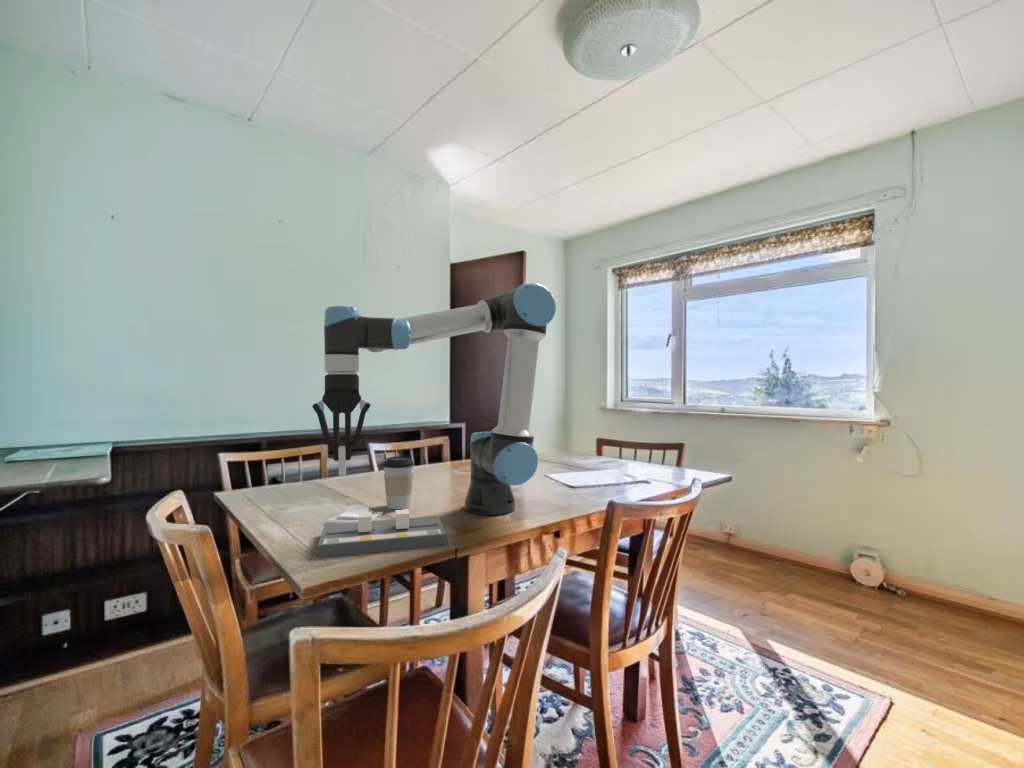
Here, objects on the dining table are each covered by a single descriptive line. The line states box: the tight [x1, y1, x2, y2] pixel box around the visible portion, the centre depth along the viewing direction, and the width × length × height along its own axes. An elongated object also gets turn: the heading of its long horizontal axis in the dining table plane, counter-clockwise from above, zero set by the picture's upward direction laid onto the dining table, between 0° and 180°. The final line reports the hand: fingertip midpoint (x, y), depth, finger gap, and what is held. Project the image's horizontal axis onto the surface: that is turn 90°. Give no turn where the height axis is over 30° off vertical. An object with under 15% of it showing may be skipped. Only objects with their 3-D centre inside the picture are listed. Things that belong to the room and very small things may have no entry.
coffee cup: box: [382, 454, 415, 510], centre depth 142 cm, size 9×9×15 cm
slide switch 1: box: [358, 512, 372, 532], centre depth 112 cm, size 3×4×4 cm
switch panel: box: [317, 515, 448, 558], centre depth 114 cm, size 28×15×3 cm, turn 106°
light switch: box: [325, 504, 384, 525], centre depth 130 cm, size 11×4×13 cm
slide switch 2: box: [394, 508, 410, 529], centre depth 115 cm, size 3×4×4 cm
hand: (342, 474), depth 111 cm, fingers closed
